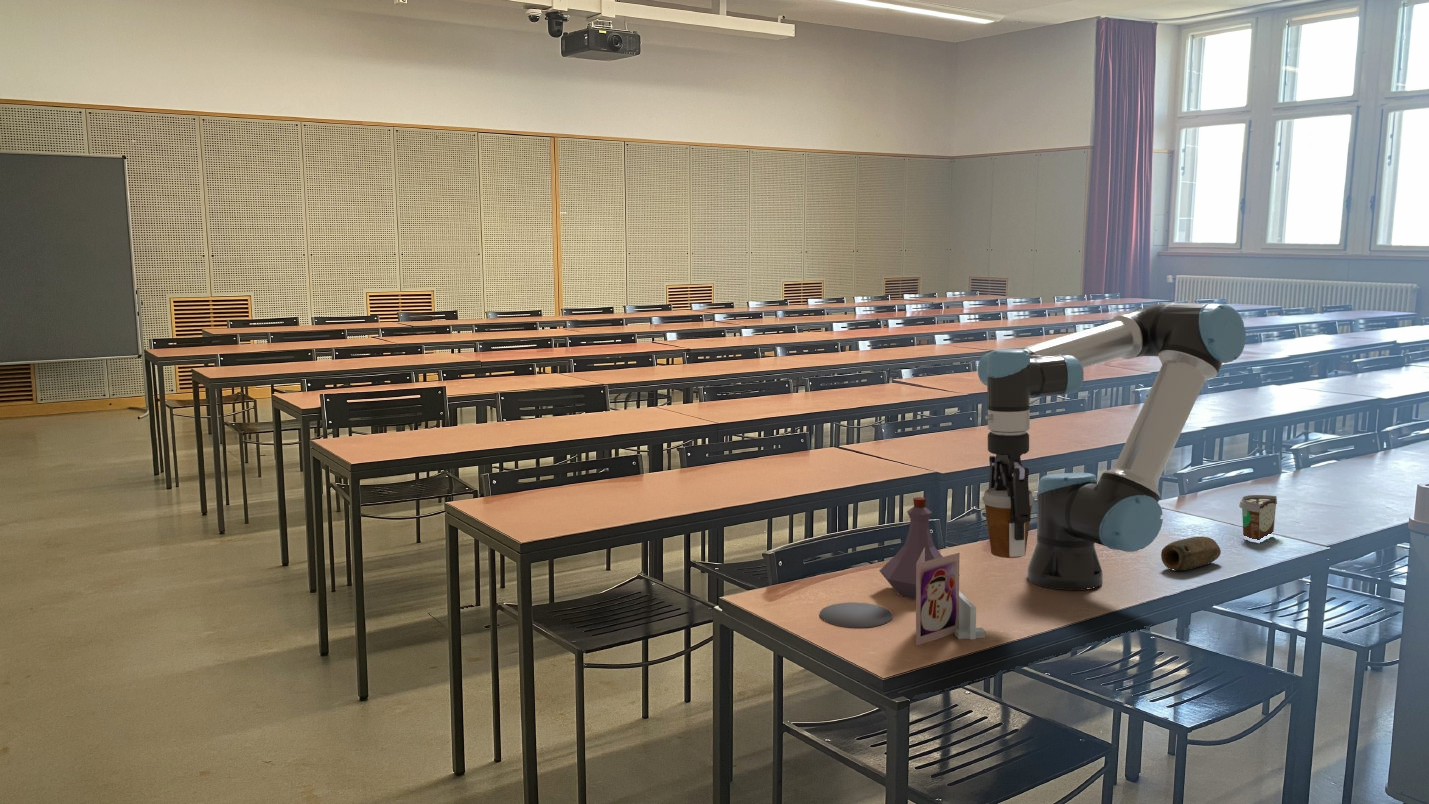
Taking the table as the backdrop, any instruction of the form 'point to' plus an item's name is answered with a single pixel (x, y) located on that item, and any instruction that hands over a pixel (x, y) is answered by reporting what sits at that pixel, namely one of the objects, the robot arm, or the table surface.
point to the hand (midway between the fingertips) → (1008, 549)
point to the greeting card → (937, 597)
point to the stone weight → (1190, 553)
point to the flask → (911, 552)
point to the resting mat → (856, 615)
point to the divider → (968, 620)
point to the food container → (1258, 515)
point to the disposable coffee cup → (1001, 520)
